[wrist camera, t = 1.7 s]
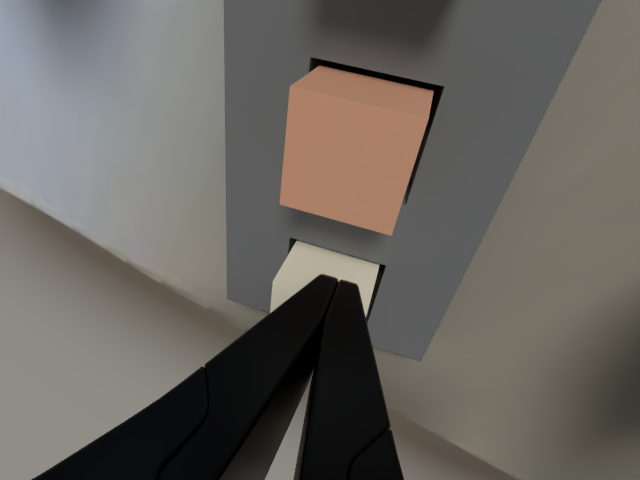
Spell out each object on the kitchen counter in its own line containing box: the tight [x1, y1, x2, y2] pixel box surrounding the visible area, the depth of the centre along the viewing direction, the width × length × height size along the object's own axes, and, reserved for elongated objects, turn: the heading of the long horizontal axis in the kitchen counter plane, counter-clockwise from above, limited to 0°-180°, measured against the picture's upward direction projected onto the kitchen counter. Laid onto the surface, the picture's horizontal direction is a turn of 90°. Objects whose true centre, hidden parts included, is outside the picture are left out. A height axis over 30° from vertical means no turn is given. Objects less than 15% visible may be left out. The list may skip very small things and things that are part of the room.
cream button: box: [270, 240, 380, 317], centre depth 20 cm, size 4×4×3 cm
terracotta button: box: [280, 65, 434, 236], centre depth 14 cm, size 4×4×3 cm
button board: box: [224, 0, 601, 362], centre depth 16 cm, size 12×24×2 cm, turn 171°
